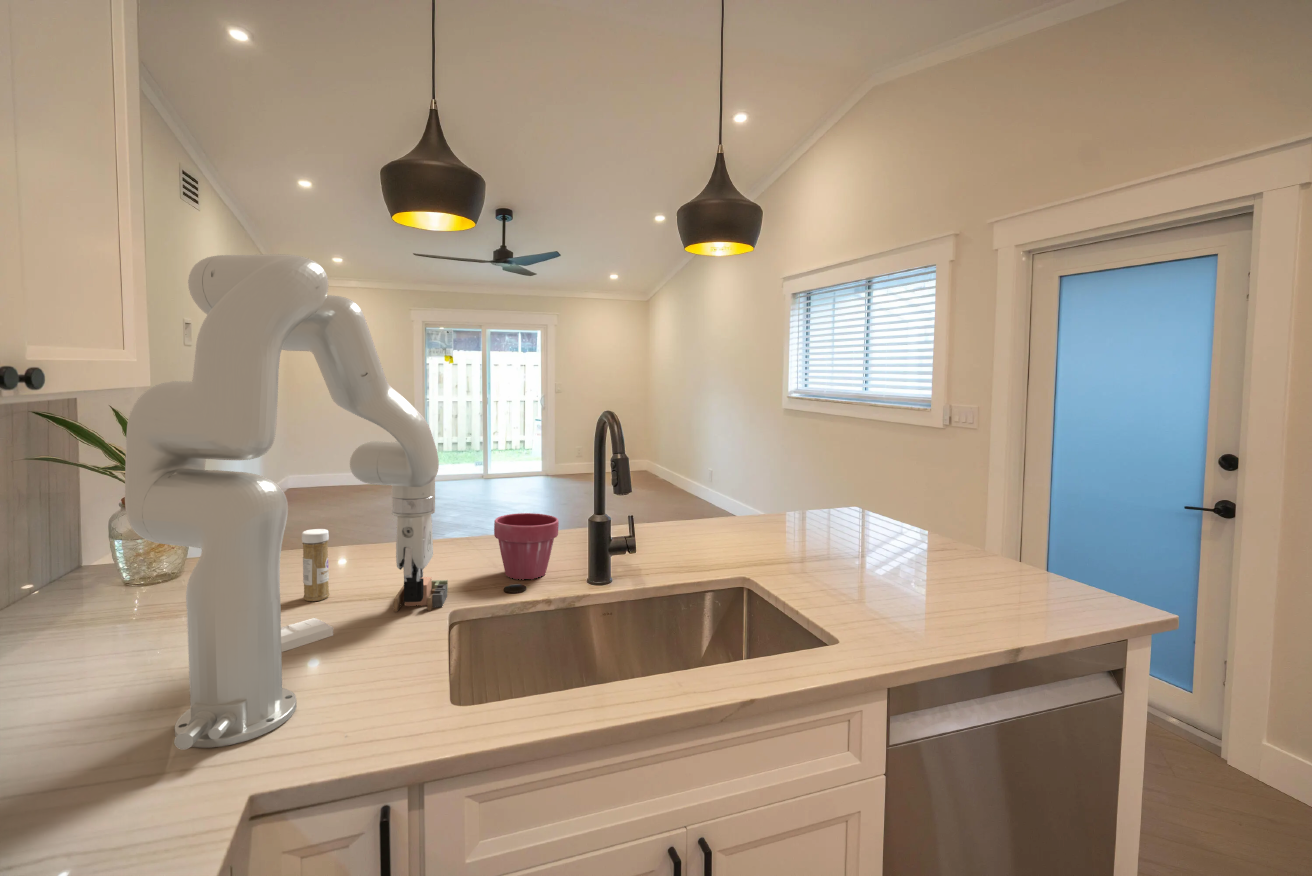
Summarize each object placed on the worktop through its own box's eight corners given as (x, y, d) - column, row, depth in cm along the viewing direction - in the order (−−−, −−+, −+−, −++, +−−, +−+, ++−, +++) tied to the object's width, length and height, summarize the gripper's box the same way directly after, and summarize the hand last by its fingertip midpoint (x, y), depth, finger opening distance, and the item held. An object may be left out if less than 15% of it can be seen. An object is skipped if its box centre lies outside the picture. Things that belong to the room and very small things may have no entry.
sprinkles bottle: (330, 599, 117) (329, 532, 116) (303, 603, 115) (302, 534, 114) (328, 592, 121) (327, 527, 120) (302, 596, 119) (300, 529, 117)
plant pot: (543, 561, 147) (544, 510, 146) (567, 578, 135) (568, 522, 134) (485, 569, 139) (486, 515, 138) (505, 588, 127) (506, 528, 126)
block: (426, 605, 116) (426, 585, 116) (404, 605, 115) (404, 585, 115) (431, 596, 121) (431, 576, 121) (410, 596, 120) (410, 577, 120)
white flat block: (333, 637, 101) (333, 622, 101) (275, 656, 94) (275, 640, 94) (318, 630, 104) (318, 615, 104) (261, 647, 97) (260, 632, 97)
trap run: (440, 610, 114) (440, 597, 113) (393, 612, 112) (393, 599, 112) (449, 591, 124) (449, 580, 124) (406, 593, 122) (406, 581, 122)
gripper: (427, 513, 105) (426, 614, 107) (441, 497, 120) (441, 586, 122) (381, 513, 104) (382, 616, 106) (401, 497, 119) (402, 587, 120)
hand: (413, 600), depth 114 cm, fingers closed
